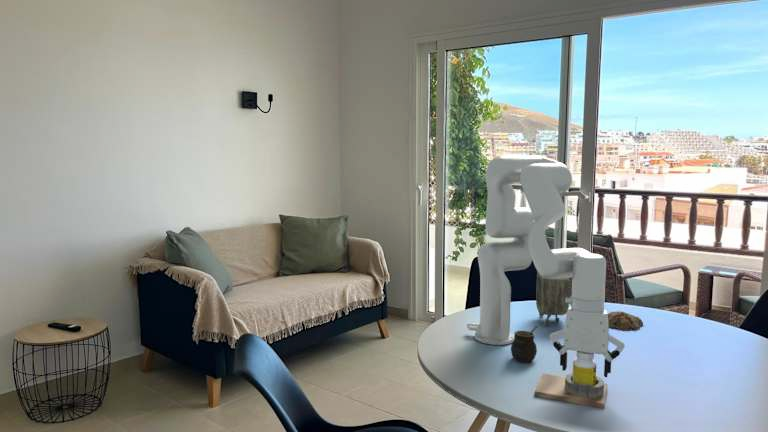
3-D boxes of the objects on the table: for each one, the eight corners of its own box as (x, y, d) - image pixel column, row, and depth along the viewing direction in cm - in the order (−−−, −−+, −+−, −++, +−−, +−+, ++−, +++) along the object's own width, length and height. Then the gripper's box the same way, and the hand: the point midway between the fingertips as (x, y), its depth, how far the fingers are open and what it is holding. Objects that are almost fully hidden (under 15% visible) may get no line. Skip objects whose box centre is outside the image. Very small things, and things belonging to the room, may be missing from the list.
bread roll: (608, 318, 199) (608, 304, 199) (645, 324, 192) (646, 310, 191) (598, 327, 189) (599, 313, 188) (637, 334, 182) (638, 319, 181)
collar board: (534, 395, 135) (534, 381, 135) (542, 377, 146) (542, 364, 146) (604, 408, 128) (604, 393, 128) (607, 388, 139) (607, 374, 139)
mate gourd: (505, 357, 161) (506, 324, 160) (526, 354, 164) (527, 321, 163) (520, 366, 154) (521, 331, 153) (542, 362, 157) (543, 328, 156)
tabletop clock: (535, 315, 202) (537, 248, 199) (561, 316, 200) (563, 248, 198) (541, 327, 187) (543, 255, 185) (568, 328, 186) (571, 256, 183)
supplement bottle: (597, 395, 133) (598, 356, 132) (573, 393, 134) (575, 354, 133) (593, 385, 138) (594, 348, 137) (570, 384, 139) (572, 346, 138)
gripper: (548, 304, 134) (546, 371, 136) (626, 312, 126) (622, 383, 128) (553, 296, 140) (550, 361, 142) (626, 304, 133) (623, 372, 135)
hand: (584, 371), depth 135 cm, fingers open, 9 cm apart
